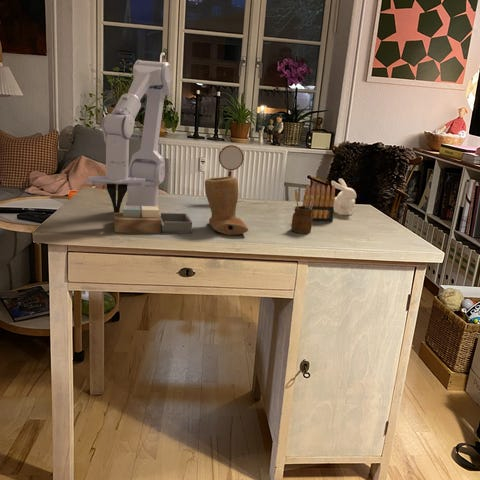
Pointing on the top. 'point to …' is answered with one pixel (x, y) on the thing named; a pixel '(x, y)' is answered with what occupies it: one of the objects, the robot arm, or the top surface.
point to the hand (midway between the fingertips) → (116, 212)
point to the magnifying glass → (231, 158)
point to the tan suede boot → (224, 205)
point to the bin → (175, 223)
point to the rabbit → (344, 198)
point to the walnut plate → (136, 224)
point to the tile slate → (131, 211)
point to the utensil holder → (302, 217)
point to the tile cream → (150, 211)
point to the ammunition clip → (320, 203)
